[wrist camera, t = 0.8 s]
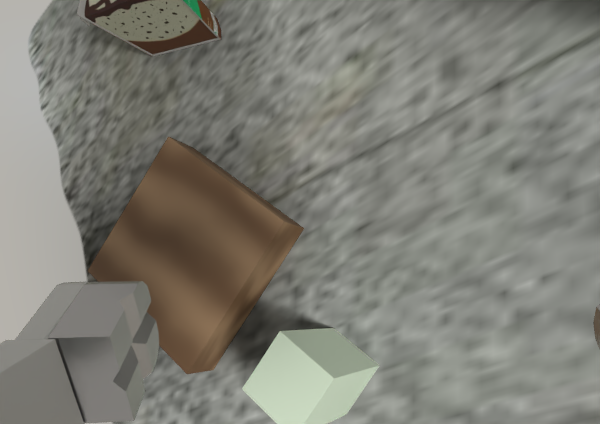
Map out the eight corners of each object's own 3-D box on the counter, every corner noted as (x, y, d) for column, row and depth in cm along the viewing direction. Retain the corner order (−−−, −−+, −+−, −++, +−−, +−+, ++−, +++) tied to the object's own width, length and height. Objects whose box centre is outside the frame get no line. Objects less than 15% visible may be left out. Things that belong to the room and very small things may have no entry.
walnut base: (193, 147, 56) (168, 136, 52) (304, 228, 49) (284, 221, 45) (116, 273, 57) (87, 270, 54) (213, 369, 50) (187, 374, 47)
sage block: (333, 327, 46) (279, 331, 37) (379, 365, 43) (334, 378, 35) (302, 374, 46) (242, 389, 37) (346, 414, 44) (293, 439, 35)
